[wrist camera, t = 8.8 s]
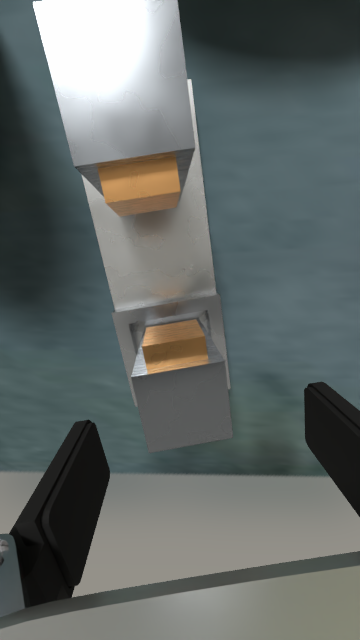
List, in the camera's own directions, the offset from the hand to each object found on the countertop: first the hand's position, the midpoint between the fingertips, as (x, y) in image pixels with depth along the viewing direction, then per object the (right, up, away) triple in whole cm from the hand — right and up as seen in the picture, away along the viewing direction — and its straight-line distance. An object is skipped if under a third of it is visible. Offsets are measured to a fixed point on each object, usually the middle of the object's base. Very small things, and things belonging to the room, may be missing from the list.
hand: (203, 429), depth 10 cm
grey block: (-1, +3, +9) cm, 9 cm away
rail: (-3, +9, +8) cm, 13 cm away
